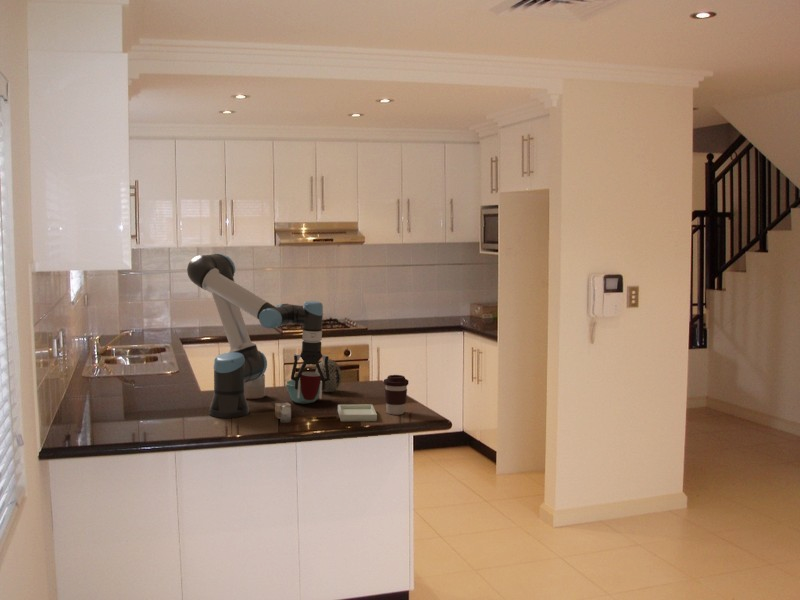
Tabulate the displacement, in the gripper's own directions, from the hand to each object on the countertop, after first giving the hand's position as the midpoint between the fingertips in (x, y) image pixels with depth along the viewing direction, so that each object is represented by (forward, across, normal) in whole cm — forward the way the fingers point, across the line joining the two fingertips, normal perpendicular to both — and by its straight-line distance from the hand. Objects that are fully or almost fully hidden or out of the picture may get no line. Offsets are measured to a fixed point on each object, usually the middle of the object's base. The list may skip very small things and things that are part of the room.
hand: (309, 397), depth 325 cm
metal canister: (+7, -9, -10) cm, 16 cm away
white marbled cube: (+7, -10, -4) cm, 13 cm away
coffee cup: (+6, +35, 0) cm, 35 cm away
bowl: (+7, -1, +22) cm, 24 cm away
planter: (+8, -23, +32) cm, 40 cm away
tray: (+6, +19, -4) cm, 20 cm away
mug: (+1, 0, 0) cm, 1 cm away
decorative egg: (+7, +10, +40) cm, 41 cm away
